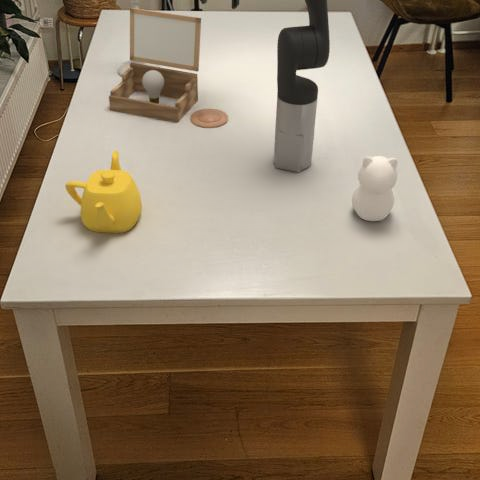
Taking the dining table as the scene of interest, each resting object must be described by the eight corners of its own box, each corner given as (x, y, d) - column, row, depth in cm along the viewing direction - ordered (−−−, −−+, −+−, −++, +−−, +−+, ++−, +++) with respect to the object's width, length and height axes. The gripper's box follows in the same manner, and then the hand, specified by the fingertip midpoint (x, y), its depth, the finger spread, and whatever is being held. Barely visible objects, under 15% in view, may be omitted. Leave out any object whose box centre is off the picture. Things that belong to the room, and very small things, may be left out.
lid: (200, 18, 184) (201, 18, 185) (130, 8, 190) (131, 7, 190) (197, 71, 191) (198, 70, 192) (129, 60, 196) (131, 59, 197)
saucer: (220, 130, 183) (220, 128, 183) (184, 124, 186) (184, 121, 185) (233, 114, 191) (233, 111, 190) (199, 108, 193) (199, 105, 193)
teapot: (80, 188, 160) (74, 146, 154) (148, 190, 160) (145, 148, 154) (58, 247, 143) (50, 203, 136) (134, 249, 143) (130, 205, 136)
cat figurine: (351, 226, 150) (360, 166, 141) (348, 193, 160) (356, 135, 151) (393, 228, 150) (405, 169, 141) (388, 195, 160) (398, 137, 151)
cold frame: (177, 122, 186) (176, 94, 181) (110, 109, 191) (107, 82, 186) (197, 100, 197) (197, 73, 192) (133, 89, 202) (131, 62, 197)
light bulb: (155, 112, 191) (153, 77, 185) (139, 105, 194) (136, 71, 187) (169, 104, 194) (168, 70, 188) (154, 98, 197) (152, 64, 191)
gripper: (186, -60, 172) (188, 6, 182) (240, -53, 168) (239, 14, 178) (199, -68, 177) (200, -3, 187) (252, -61, 173) (250, 5, 183)
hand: (219, 5), depth 182 cm, fingers open, 8 cm apart
